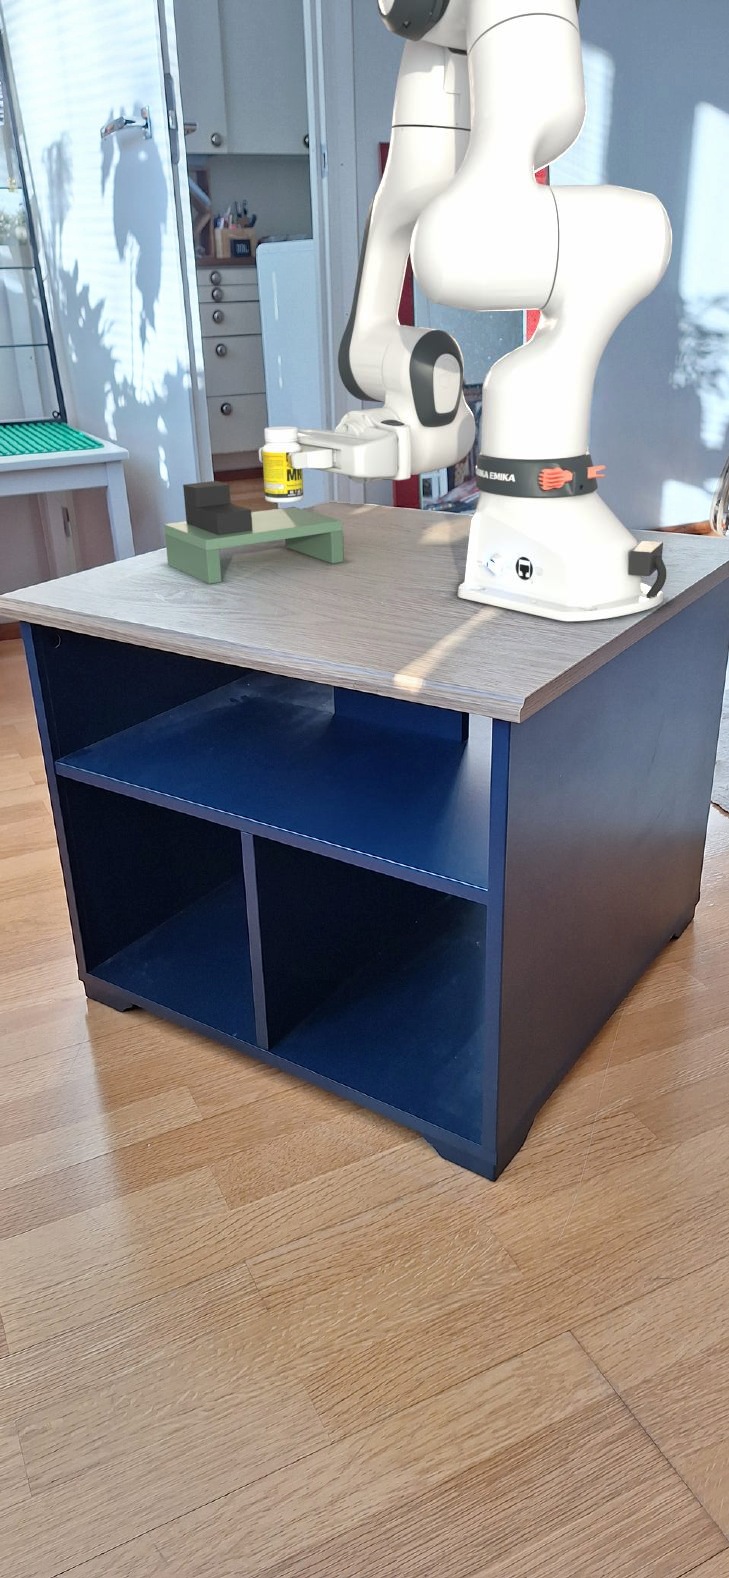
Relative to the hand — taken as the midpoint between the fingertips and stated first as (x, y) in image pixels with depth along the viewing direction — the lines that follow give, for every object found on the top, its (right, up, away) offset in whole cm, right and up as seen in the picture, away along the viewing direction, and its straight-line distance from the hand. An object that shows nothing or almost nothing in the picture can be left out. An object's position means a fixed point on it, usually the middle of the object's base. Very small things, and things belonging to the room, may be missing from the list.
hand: (276, 458), depth 133 cm
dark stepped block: (-7, -8, -1) cm, 11 cm away
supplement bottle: (+1, -4, +3) cm, 5 cm away
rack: (-3, -12, +3) cm, 13 cm away
